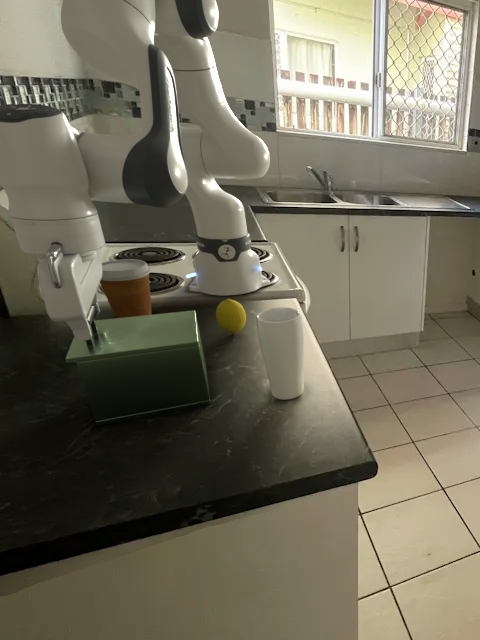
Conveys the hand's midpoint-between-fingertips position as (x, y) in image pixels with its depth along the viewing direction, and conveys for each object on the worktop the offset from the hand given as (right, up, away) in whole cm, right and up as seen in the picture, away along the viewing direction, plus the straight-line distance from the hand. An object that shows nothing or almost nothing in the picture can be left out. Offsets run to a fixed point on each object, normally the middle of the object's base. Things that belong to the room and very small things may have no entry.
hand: (89, 326), depth 71 cm
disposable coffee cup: (-20, +3, +34) cm, 39 cm away
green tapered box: (+4, -11, +9) cm, 15 cm away
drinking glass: (+24, -12, +13) cm, 30 cm away
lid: (+4, -1, +4) cm, 6 cm away
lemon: (+4, -1, +31) cm, 31 cm away
